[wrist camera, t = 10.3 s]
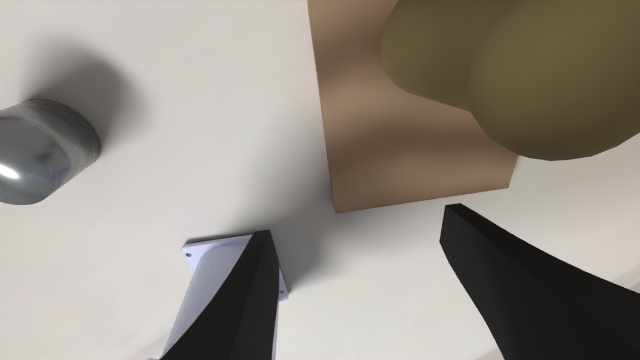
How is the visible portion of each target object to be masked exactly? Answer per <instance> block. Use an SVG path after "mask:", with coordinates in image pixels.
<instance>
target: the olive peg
mask: <svg viewBox="0 0 640 360" xmlns="http://www.w3.org/2000/svg"><path fill="white" fill-rule="evenodd" d="M381 59H382V62H383V65H384V68H385V71H386V74H387V75H388V76H389V78H390V79H391V80H392V82H393V83H394V84H395V85H396V86H398V87H399V88H401V89H403V90H404V91H406V92H408V93H411V94H414V95H417V96H421V97H424V98H427V99H430V100H433V101H436V102H440V103H443V104H446V105H449V106H452V107H456V108H459V109H462V110H465V111H468V112H471V113H472V115H473V116H474V118H475V119H476V121H477V122H478V124H479V125H480V127H481V128H482V130H483V131H484V133H485V135H486V136H487V137H489V138H490V139H492V140H493V141H495V142H496V143H497V144H499V145H501V146H502V147H504V148H506V149H507V150H509V151H511V152H512V153H514V154H518V155H521V156H525V157H528V158H534V159H541V160H548V161H557V160H570V159H577V158H584V157H590V156H593V155H596V154H598V153H601V152H604V151H606V150H609V149H611V148H614V147H616V146H618V145H620V144H621V143H623V142H625V141H626V140H628V139H630V138H631V137H633V136H634V135H636V134H638V133H639V132H640V0H400V1H399V2H398V3H397V4H396V6H395V7H394V9H393V11H392V13H391V14H390V16H389V18H388V20H387V21H386V25H385V28H384V32H383V36H382V40H381Z"/></svg>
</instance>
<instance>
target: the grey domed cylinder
mask: <svg viewBox="0 0 640 360" xmlns="http://www.w3.org/2000/svg"><path fill="white" fill-rule="evenodd" d="M99 153H100V141H99V138H98V135H97V133H96V132H95V130H94V128H93V127H92V126H91V124H90V123H89V122H88V121H87V120H86V119H85V118H84V117H83V116H81V115H80V114H79V113H78V112H76V111H75V110H73V109H71V108H70V107H68V106H66V105H63V104H61V103H58V102H55V101H51V100H45V99H36V100H30V101H27V102H24V103H21V104H18V105H15V106H12V107H9V108H6V109H3V110H0V202H3V203H8V204H15V205H29V204H34V203H37V202H40V201H42V200H44V199H45V198H46V197H48V196H49V195H50V194H52V193H53V192H55V191H56V190H57V189H59V188H60V187H61V186H63V185H64V184H65V183H67V182H68V181H69V180H71V179H72V178H73V177H75V176H76V175H77V174H79V173H80V172H81V171H83V170H84V169H85V168H87V167H88V166H89V165H91V164H92V163H93V162H95V161H96V159H97V158H98V156H99Z"/></svg>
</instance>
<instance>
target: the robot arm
mask: <svg viewBox="0 0 640 360" xmlns="http://www.w3.org/2000/svg"><path fill="white" fill-rule="evenodd" d="M439 242H440V244H441V246H442V249H443V251H444V253H445V255H446V258H447V260H448V262H449V264H450V266H451V267H452V269H453V271H454V272H455V274H456V275H457V277H458V279H459V280H460V282H461V283H462V285H463V287H464V288H465V290H466V291H467V293H468V295H469V296H470V298H471V299H472V301H473V302H474V304H475V306H476V307H477V309H478V310H479V312H480V314H481V315H482V317H483V319H484V320H485V322H486V324H487V326H488V327H489V329H490V331H491V333H492V335H493V337H494V339H495V341H496V343H497V345H498V347H499V349H500V351H501V353H502V355H503V357H504V359H505V360H640V293H637V292H634V291H632V290H629V289H626V288H624V287H622V286H619V285H617V284H614V283H612V282H609V281H607V280H604V279H602V278H599V277H597V276H595V275H592V274H590V273H588V272H586V271H583V270H581V269H579V268H577V267H575V266H573V265H570V264H568V263H566V262H564V261H562V260H560V259H558V258H556V257H554V256H552V255H550V254H548V253H546V252H544V251H542V250H540V249H538V248H536V247H535V246H533V245H531V244H529V243H527V242H525V241H524V240H522V239H520V238H518V237H516V236H515V235H513V234H511V233H510V232H508V231H506V230H504V229H503V228H501V227H499V226H498V225H496V224H494V223H493V222H491V221H489V220H488V219H486V218H485V217H483V216H481V215H480V214H478V213H476V212H475V211H473V210H471V209H470V208H468V207H466V206H465V205H463V204H461V203H457V204H450V205H445V210H444V217H443V223H442V229H441V235H440V241H439ZM181 252H182V254H183V256H184V258H185V259H186V261H187V263H188V265H189V266H190V268H191V270H192V272H193V273H194V274H193V276H192V279H191V281H190V284H189V286H188V289H187V291H186V294H185V297H184V299H183V302H182V304H181V307H180V309H179V312H178V314H177V317H176V319H175V322H174V324H173V327H172V329H171V332H170V335H169V337H168V340H167V342H166V345H165V347H164V350H163V352H162V355H161V357H160V358H159V360H275V356H276V342H277V326H278V310H279V301H285V300H287V299H288V292H287V288H286V285H285V282H284V279H283V275H282V272H281V269H280V266H279V261H278V258H277V254H276V251H275V247H274V244H273V240H272V237H271V233H270V230H263V231H256V232H254V233H253V234H252V235H245V236H238V237H231V238H225V239H218V240H211V241H204V242H197V243H191V244H185V245H183V246H182V248H181ZM189 253H190V254H189ZM147 360H158V359H154V358H149V359H147Z"/></svg>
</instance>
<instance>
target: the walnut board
mask: <svg viewBox="0 0 640 360" xmlns="http://www.w3.org/2000/svg"><path fill="white" fill-rule="evenodd" d="M399 1H400V0H307V3H308V11H309V18H310V26H311V34H312V42H313V49H314V57H315V65H316V72H317V80H318V88H319V96H320V103H321V111H322V119H323V126H324V134H325V142H326V150H327V157H328V165H329V173H330V180H331V188H332V196H333V203H334V208H335V213H342V212H349V211H356V210H362V209H369V208H376V207H383V206H389V205H396V204H403V203H410V202H416V201H423V200H430V199H437V198H443V197H450V196H457V195H464V194H470V193H477V192H484V191H491V190H497V189H504V188H508V187H509V184H510V180H511V177H512V173H513V170H514V166H515V163H516V160H517V156H518V154H514V153H512V152H511V151H509V150H507V149H506V148H504V147H502V146H501V145H499V144H497V143H496V142H495V141H493V140H492V139H490V138H489V137H487V136H486V135H485V133H484V131H483V130H482V128H481V127H480V125H479V124H478V122H477V121H476V119H475V118H474V116H473V115H472V113H471V112H468V111H465V110H462V109H459V108H456V107H452V106H449V105H446V104H443V103H440V102H436V101H433V100H430V99H427V98H424V97H421V96H417V95H414V94H411V93H408V92H406V91H404V90H403V89H401V88H399V87H398V86H396V85H395V84H394V83H393V82H392V80H391V79H390V78H389V76H388V75H387V74H386V71H385V68H384V65H383V62H382V59H381V40H382V36H383V32H384V28H385V25H386V21H387V20H388V18H389V16H390V14H391V13H392V11H393V9H394V7H395V6H396V4H397V3H398V2H399Z"/></svg>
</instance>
